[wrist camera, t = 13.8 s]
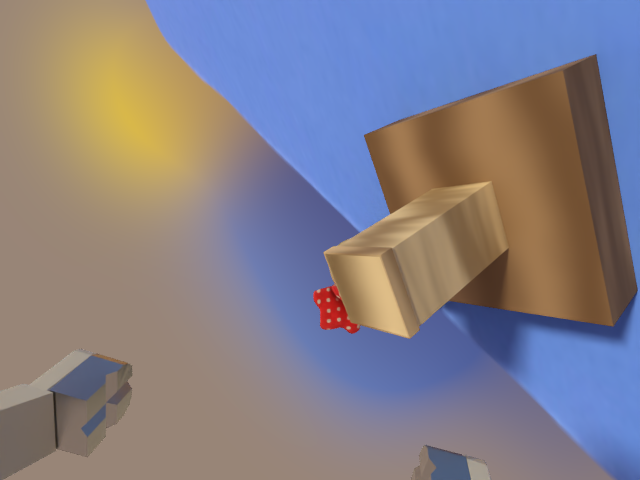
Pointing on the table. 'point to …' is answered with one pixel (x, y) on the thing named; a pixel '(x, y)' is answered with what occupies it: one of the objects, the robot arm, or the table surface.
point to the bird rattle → (333, 309)
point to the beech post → (418, 257)
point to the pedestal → (527, 189)
